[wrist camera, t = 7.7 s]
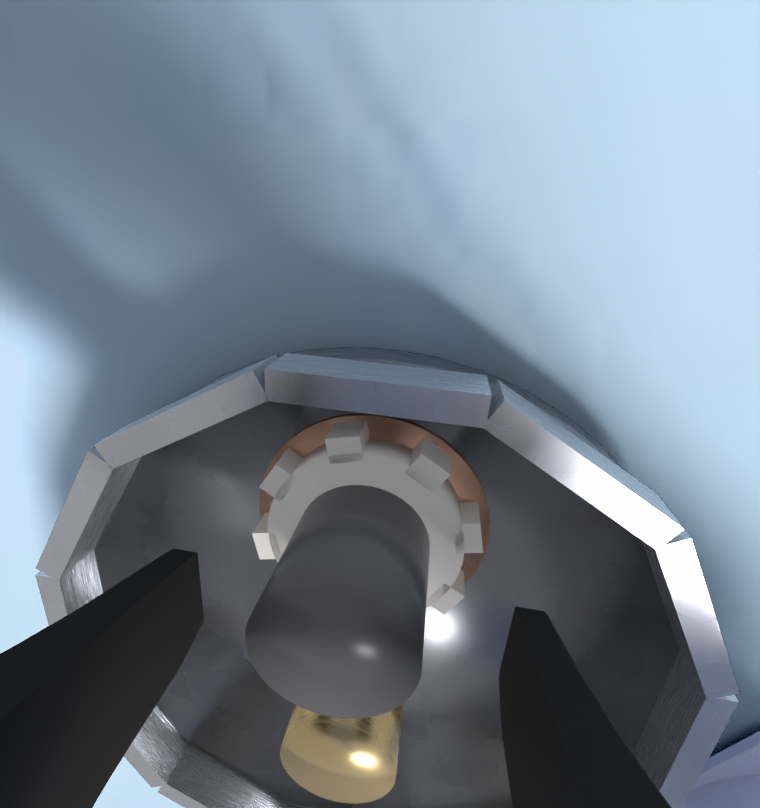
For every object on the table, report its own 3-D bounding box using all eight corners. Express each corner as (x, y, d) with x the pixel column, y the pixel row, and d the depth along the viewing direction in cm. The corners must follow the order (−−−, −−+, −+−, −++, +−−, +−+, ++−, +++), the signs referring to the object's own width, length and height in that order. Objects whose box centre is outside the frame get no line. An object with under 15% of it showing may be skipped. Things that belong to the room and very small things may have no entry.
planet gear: (469, 411, 11) (480, 514, 7) (488, 603, 13) (504, 769, 9) (242, 431, 13) (139, 530, 8) (291, 605, 15) (229, 753, 11)
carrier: (826, 605, 14) (1016, 793, 9) (427, 851, 21) (420, 1021, 17) (262, 196, 12) (142, 173, 7) (47, 626, 20) (-78, 748, 15)
